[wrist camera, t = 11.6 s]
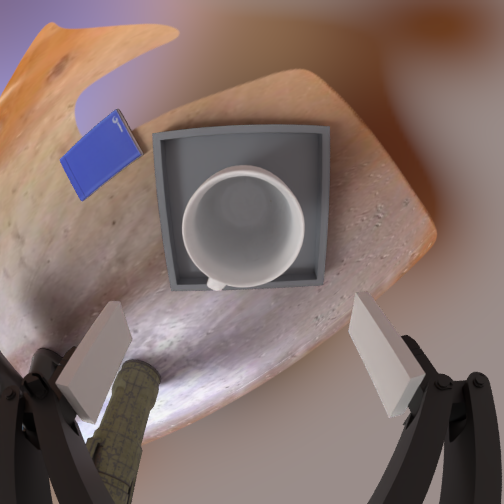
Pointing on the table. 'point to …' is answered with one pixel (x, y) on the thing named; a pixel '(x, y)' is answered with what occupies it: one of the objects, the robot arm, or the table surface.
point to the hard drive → (100, 154)
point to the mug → (243, 227)
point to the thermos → (124, 429)
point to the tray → (248, 153)
